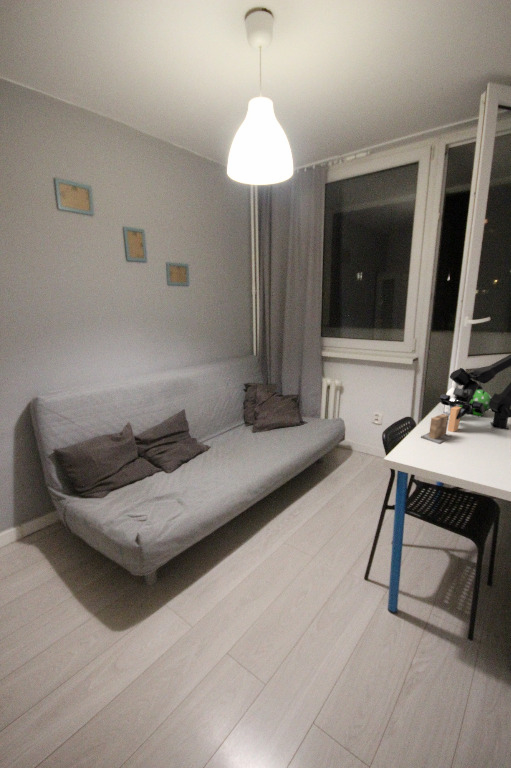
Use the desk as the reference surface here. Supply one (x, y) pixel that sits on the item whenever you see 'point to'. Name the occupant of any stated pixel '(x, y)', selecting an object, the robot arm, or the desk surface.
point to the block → (454, 419)
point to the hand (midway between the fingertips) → (453, 418)
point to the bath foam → (450, 393)
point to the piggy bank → (481, 400)
